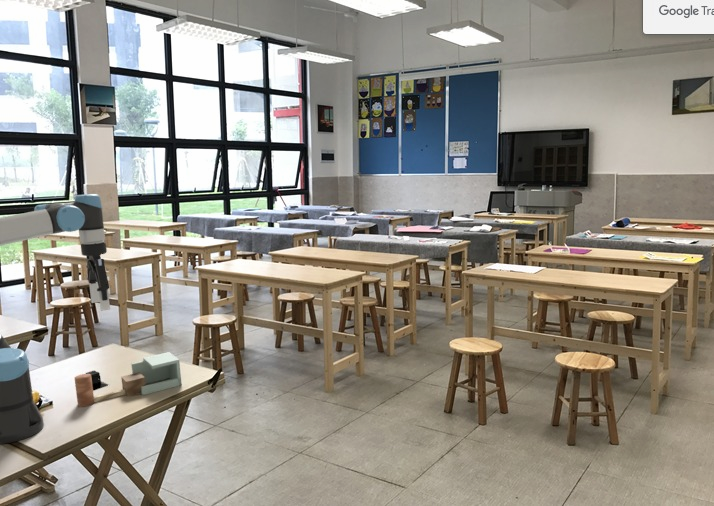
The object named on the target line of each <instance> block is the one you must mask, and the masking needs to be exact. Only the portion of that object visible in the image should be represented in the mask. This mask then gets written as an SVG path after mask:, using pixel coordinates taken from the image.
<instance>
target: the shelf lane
mask: <svg viewBox="0 0 714 506" xmlns="http://www.w3.org/2000/svg"><path fill="white" fill-rule="evenodd" d="M130 365H131V371H132V373H131V374H135V373H139V372H140V373H141V374H142V375H143V376H144V377H145V384H146V386H142V387H141V393H140V394H141V395H142V396H144V395H145V396H146V395H147V394H148V395H149V394H152V393H153V394H154V393H156V392H160V391H163V390H164V391H165V390H168V389H173V388H175V387H180V386H182V374H181V364H180V359H179V358H178V357H177V356H175V355H174V354H173V353H171V352H170V351H168V352H163V353H158V354H154V355H150V356H144V357H143V358H142V360H140V361H136V362H131V364H130Z"/></svg>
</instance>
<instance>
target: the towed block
mask: <svg viewBox="0 0 714 506" xmlns="http://www.w3.org/2000/svg"><path fill="white" fill-rule="evenodd" d="M74 384H75V394H76V400H77V406H78V407H83V408H84V407H89V406H92V405H94V404H95V403H97V402H101V401H105V400H108V399H113V398H117V397H120V396H124V395H125V396H126V397H130V396H134V395H139V394H141V387H142V386H146V385H147V384H145V377H144V376H143V375H142V374H141V373H140V372H139V373H135V374H132V373H131V374H130V373H129V374H127V375H123V376H121V387H122V389H119V390H114V391H111V392H106V393H102V394H100V395H99V394H98V395H94V391H93V387H92V378H91V374H86V373H82V374H78V375H75V376H74Z"/></svg>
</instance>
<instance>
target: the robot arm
mask: <svg viewBox="0 0 714 506" xmlns="http://www.w3.org/2000/svg"><path fill="white" fill-rule="evenodd" d="M33 209H34V210H32V211H28V212H24V213H19V214H13V215H8V216H3V217H0V246H4V245H10V244H13V243H19V242H23V241H27V240H31V239H35V238H40V237H41V238H42V237H45V236H49V235H55V234H60V233H65V232H67V233H73V232H76V231H78V237H79V242H80V243H81V244H80V249H81V250H80V253H81V255H82V256H84V257H86V275H87V277H86V278H87V279H86V280H87V281H88V287H89V293H90V294H89V295H90V301H91V304H94V303H99V307H100V311H107V310H109V311H110V310H111V305H110V297H109V290H110V284H109V279H108V275H107V274H108V273H107V270H106V266H105V260H104V258H101V255H105V254H106V253H108V249H107V242H106V241H105V240H106V235H105V234H107V230H105V225H104V215H103V206H102V200H101V197H100V195H99V194H97V193H90V194H89V193H88V194H87V193H86V194H77V195H75V197H74V201H71V202H56V203H44V204H37V205H36V206H35V207H34V208H33ZM31 380H32V379H31V374H30V362H29V358H28V356H27V353H26V352H25V351H24V350H23V349H20V348H14V347H12V346H11V345H10V344H9V343H8V342H7V340H6V339H5V338H4V336H2V334H1V333H0V445H3V444H9V443H14V442H18V441H21V440H24V439H27V438H30V437H32V436H34V435H36V434H37V433H39V432H41V430H42V429H43V428H44V425H45V423H44V418H43V416H42V413H41V412H40V410H39V408H38V406H37V405H36V403H35V401H34V396H33V395H34V394H33V389H32V381H31Z"/></svg>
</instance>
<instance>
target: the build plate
mask: <svg viewBox="0 0 714 506" xmlns="http://www.w3.org/2000/svg"><path fill="white" fill-rule="evenodd" d="M85 374H91V378H92V387H93V392H94V391H96V390H99V389H102V388H105V387H108V385H109V384H108V383H106V382H104V381H102V380H101V375H100V374H101V373H100V372H99V371H96V370H90V371H87V372H85Z"/></svg>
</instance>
